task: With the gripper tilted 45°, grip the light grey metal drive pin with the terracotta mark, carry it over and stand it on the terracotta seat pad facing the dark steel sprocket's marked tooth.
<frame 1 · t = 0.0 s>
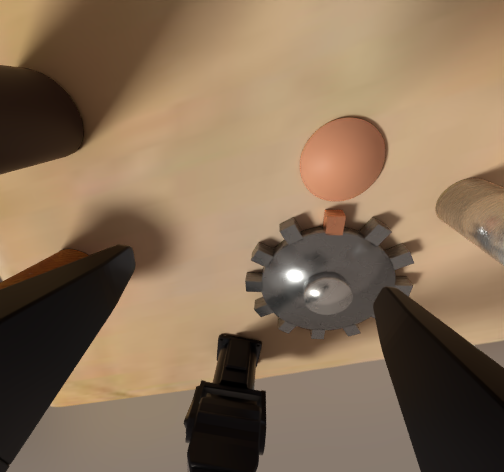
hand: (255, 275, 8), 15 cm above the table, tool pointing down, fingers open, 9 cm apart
sprocket: (323, 279, 27), on the table
bottle: (49, 116, 20), on the table
seat pad: (340, 162, 20), on the table
drive pin: (463, 201, 21), on the table
disposable coffee cup: (81, 267, 30), on the table
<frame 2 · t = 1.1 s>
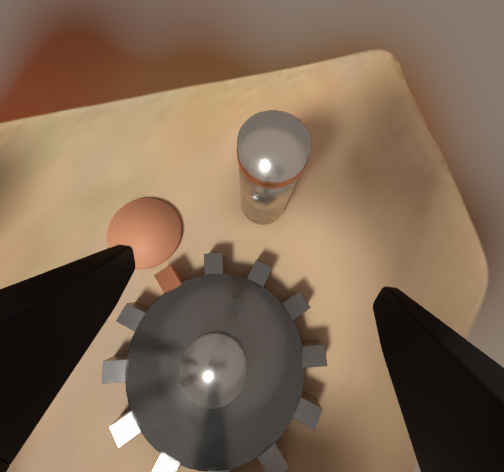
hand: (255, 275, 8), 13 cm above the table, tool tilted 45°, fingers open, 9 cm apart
sprocket: (218, 358, 20), on the table
seat pad: (145, 232, 22), on the table
drive pin: (262, 203, 23), on the table
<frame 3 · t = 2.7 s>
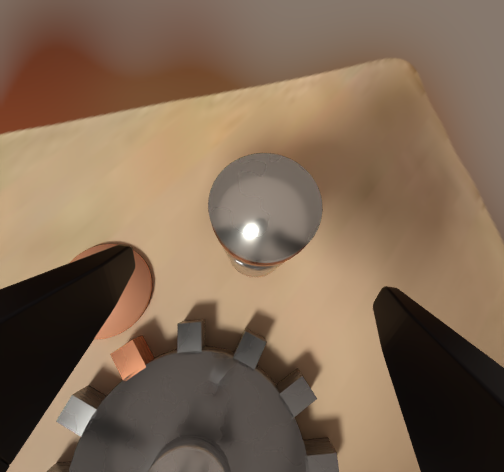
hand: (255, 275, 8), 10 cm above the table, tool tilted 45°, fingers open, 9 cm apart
sprocket: (195, 464, 15), on the table
seat pad: (105, 289, 17), on the table
drive pin: (255, 249, 18), on the table
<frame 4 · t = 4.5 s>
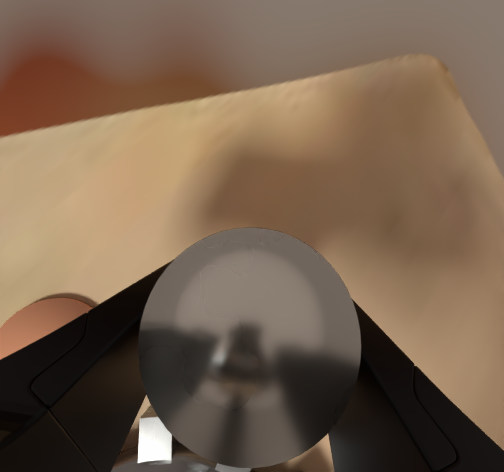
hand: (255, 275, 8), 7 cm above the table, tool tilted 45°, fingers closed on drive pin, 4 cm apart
seat pad: (50, 360, 13), on the table
drive pin: (248, 303, 14), on the table, touching gripper
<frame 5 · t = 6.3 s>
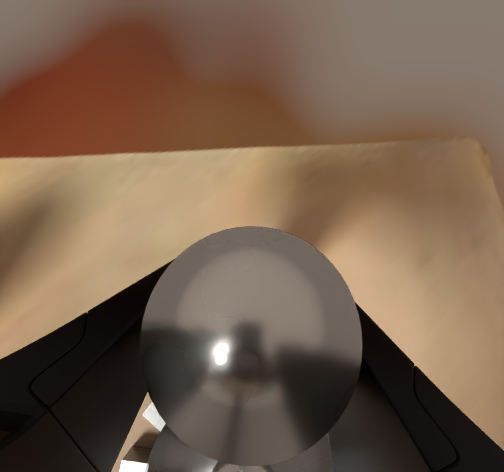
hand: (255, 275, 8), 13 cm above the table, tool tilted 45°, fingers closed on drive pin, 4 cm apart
drive pin: (248, 303, 14), point 7 cm above the table, touching gripper
when the fingers open (8 cm above the table, at t = 8.5 s): drive pin stays where it is, resting on seat pad.
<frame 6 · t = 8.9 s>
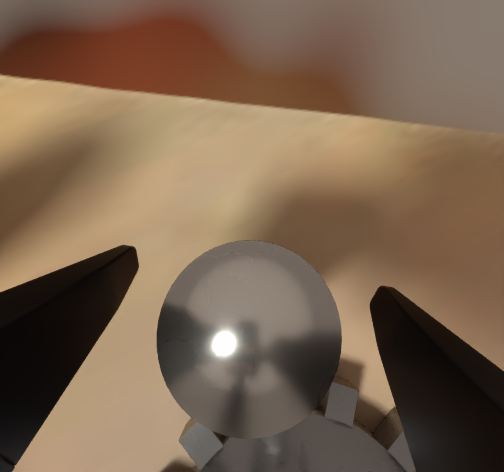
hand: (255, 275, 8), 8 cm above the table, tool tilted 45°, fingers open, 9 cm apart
drive pin: (247, 303, 15), resting on seat pad
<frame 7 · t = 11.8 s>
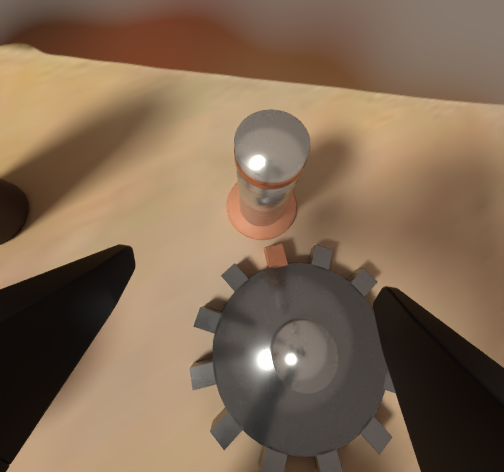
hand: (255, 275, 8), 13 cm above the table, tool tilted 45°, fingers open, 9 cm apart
sprocket: (296, 346, 20), on the table
seat pad: (261, 206, 23), on the table
drive pin: (261, 205, 23), resting on seat pad
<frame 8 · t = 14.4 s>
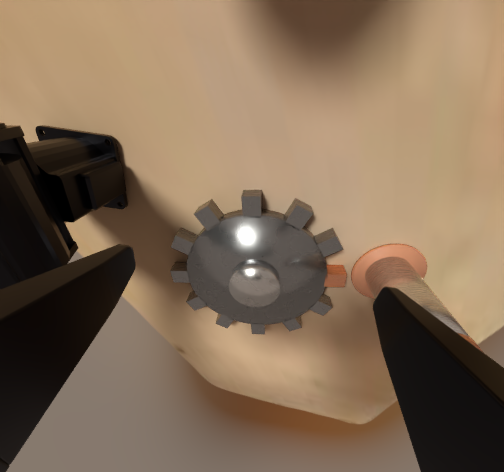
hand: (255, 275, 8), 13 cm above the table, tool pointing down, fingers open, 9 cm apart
sprocket: (256, 269, 25), on the table
seat pad: (387, 272, 23), on the table
drive pin: (387, 274, 23), resting on seat pad
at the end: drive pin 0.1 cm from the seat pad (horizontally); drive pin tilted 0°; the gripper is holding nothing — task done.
